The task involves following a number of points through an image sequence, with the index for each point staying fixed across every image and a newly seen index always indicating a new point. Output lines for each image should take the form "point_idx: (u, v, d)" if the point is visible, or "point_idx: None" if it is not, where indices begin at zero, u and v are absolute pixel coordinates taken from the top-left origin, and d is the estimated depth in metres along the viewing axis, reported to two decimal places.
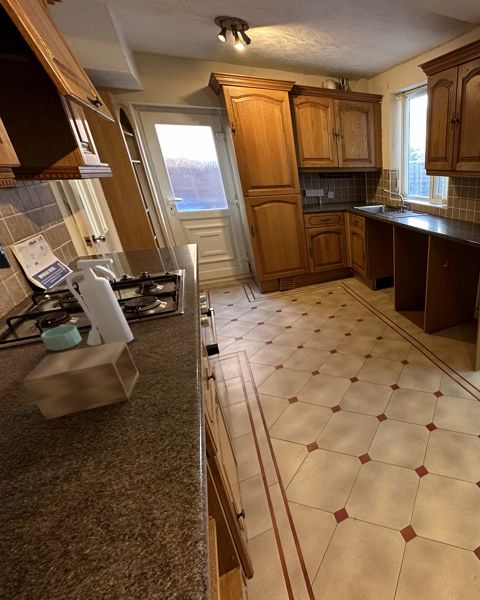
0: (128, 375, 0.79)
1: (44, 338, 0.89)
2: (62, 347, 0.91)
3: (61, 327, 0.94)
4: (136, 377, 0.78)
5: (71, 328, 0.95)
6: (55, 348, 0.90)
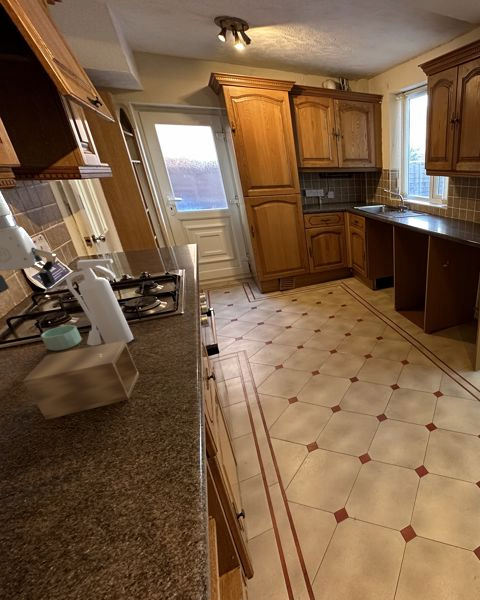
0: (128, 375, 0.79)
1: (44, 338, 0.89)
2: (62, 347, 0.91)
3: (61, 327, 0.94)
4: (136, 377, 0.78)
5: (71, 328, 0.95)
6: (55, 348, 0.90)
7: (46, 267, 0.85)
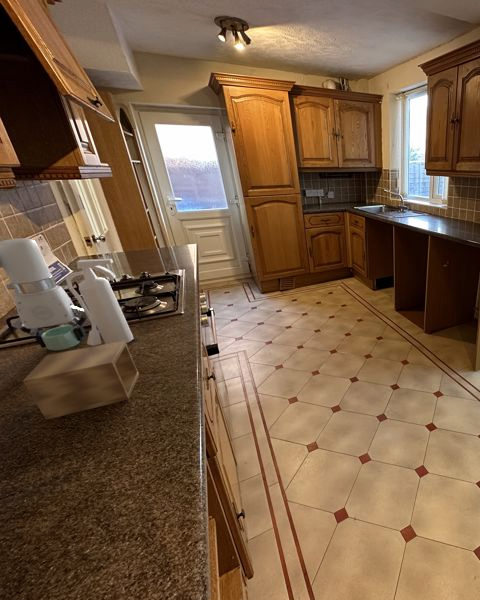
0: (128, 375, 0.79)
1: (44, 338, 0.89)
2: (62, 347, 0.91)
3: (61, 327, 0.95)
4: (136, 377, 0.78)
5: (71, 328, 0.95)
6: (55, 348, 0.90)
7: (79, 323, 0.93)
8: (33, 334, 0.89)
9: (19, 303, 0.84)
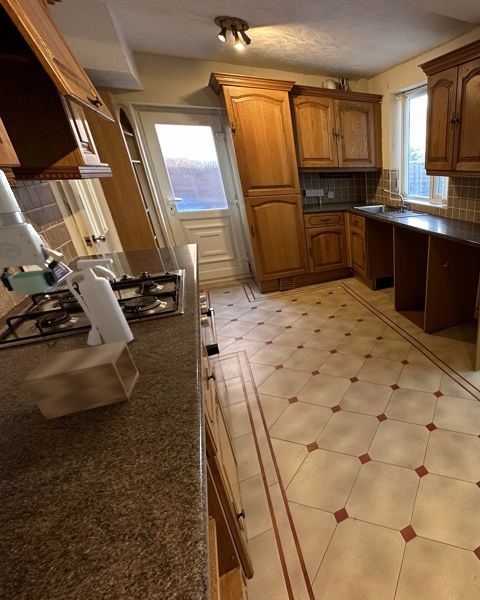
0: (128, 375, 0.79)
1: (11, 280, 0.82)
2: (31, 291, 0.84)
3: (31, 272, 0.87)
4: (136, 377, 0.78)
5: (42, 273, 0.88)
6: (23, 292, 0.83)
7: (51, 266, 0.86)
8: None
9: None
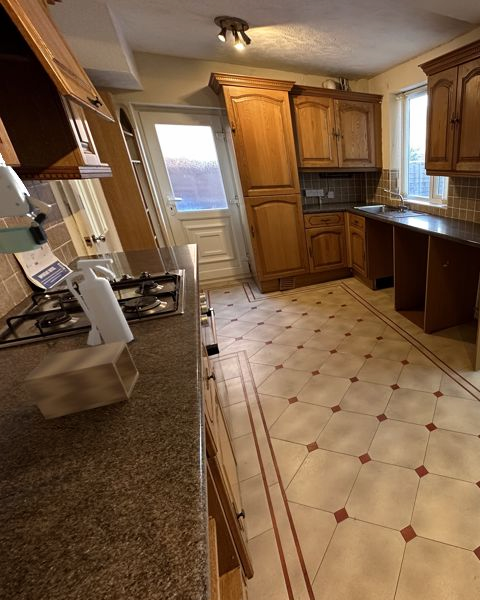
0: (128, 375, 0.79)
1: None
2: (14, 249, 0.69)
3: (15, 228, 0.73)
4: (136, 377, 0.78)
5: None
6: (5, 249, 0.68)
7: (38, 220, 0.71)
8: None
9: None
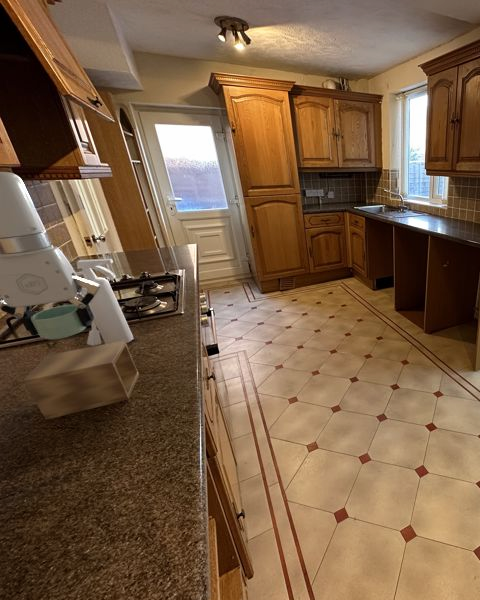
0: (128, 375, 0.79)
1: (35, 321, 0.62)
2: (61, 334, 0.64)
3: (60, 307, 0.68)
4: (136, 377, 0.78)
5: (73, 309, 0.68)
6: (51, 336, 0.63)
7: (85, 301, 0.66)
8: (19, 316, 0.62)
9: None
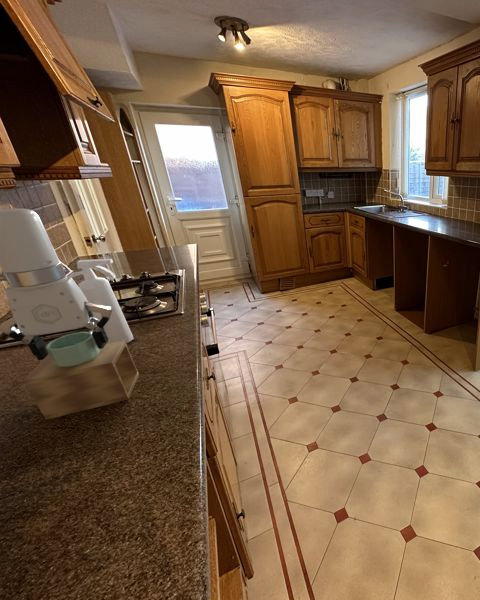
0: (128, 375, 0.79)
1: (50, 350, 0.65)
2: (75, 362, 0.67)
3: (73, 335, 0.70)
4: (136, 377, 0.78)
5: (86, 336, 0.71)
6: (65, 364, 0.66)
7: (101, 324, 0.68)
8: (26, 342, 0.64)
9: (14, 300, 0.60)
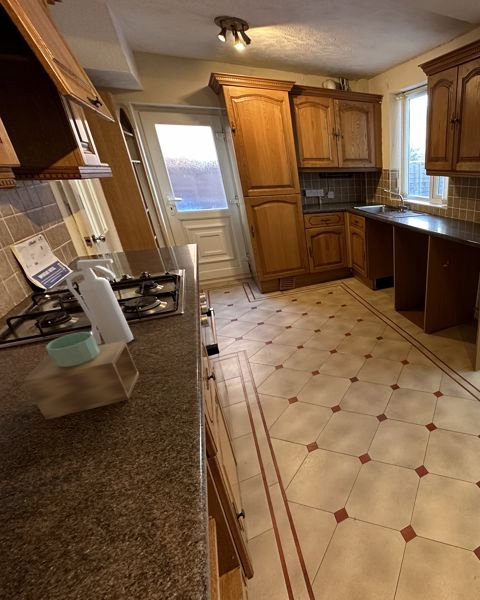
0: (128, 375, 0.79)
1: (50, 350, 0.65)
2: (75, 362, 0.67)
3: (73, 335, 0.70)
4: (136, 377, 0.78)
5: (86, 336, 0.71)
6: (65, 364, 0.66)
7: None
8: None
9: None
